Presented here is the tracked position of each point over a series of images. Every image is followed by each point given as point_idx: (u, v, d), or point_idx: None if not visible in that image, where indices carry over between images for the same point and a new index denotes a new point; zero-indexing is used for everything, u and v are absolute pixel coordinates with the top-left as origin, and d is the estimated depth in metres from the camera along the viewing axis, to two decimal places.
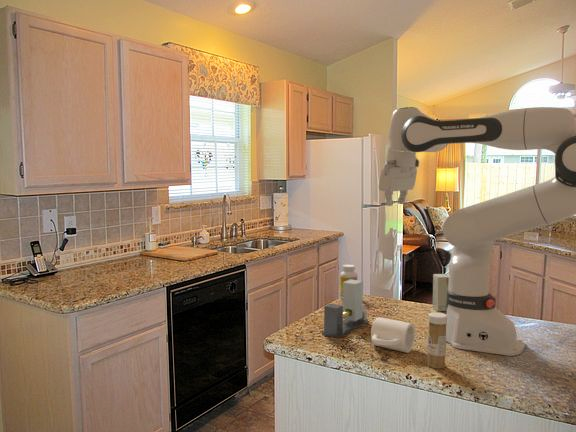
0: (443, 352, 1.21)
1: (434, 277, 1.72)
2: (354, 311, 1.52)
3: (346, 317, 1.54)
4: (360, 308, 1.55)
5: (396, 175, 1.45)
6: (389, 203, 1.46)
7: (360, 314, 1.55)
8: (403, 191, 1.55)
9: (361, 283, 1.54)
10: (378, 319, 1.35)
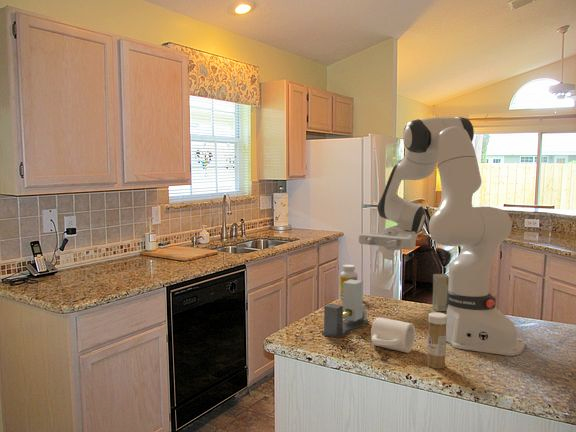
0: (443, 352, 1.21)
1: (434, 277, 1.72)
2: (354, 311, 1.52)
3: (346, 317, 1.54)
4: (360, 308, 1.55)
5: (375, 234, 1.78)
6: None
7: (360, 314, 1.55)
8: None
9: (361, 283, 1.54)
10: (378, 319, 1.35)
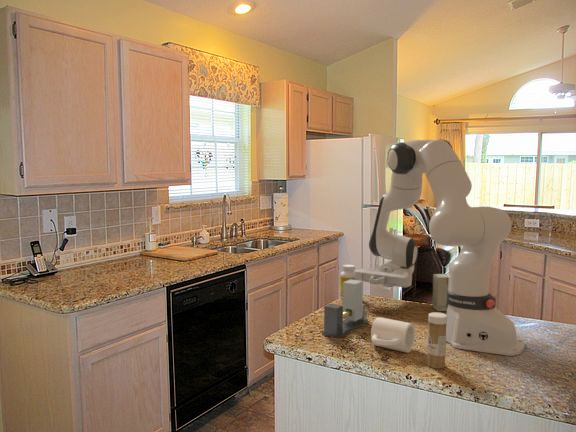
0: (443, 352, 1.21)
1: (434, 277, 1.72)
2: (354, 311, 1.52)
3: (346, 317, 1.54)
4: (360, 308, 1.55)
5: (371, 270, 1.77)
6: None
7: (360, 314, 1.55)
8: None
9: (361, 283, 1.54)
10: (378, 319, 1.36)
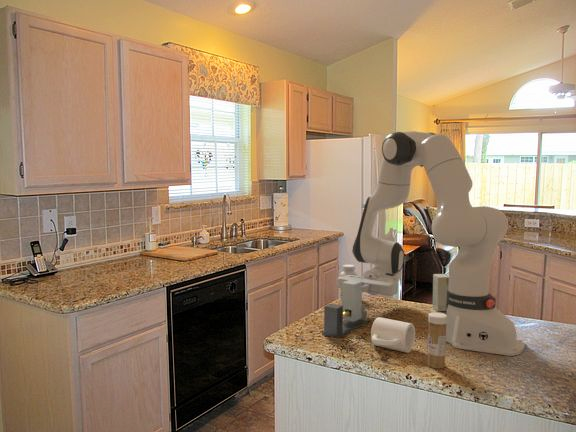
0: (443, 352, 1.21)
1: (434, 277, 1.72)
2: (353, 311, 1.52)
3: (345, 317, 1.53)
4: (359, 308, 1.54)
5: (355, 277, 1.67)
6: None
7: (359, 314, 1.55)
8: None
9: (360, 283, 1.54)
10: (378, 319, 1.36)
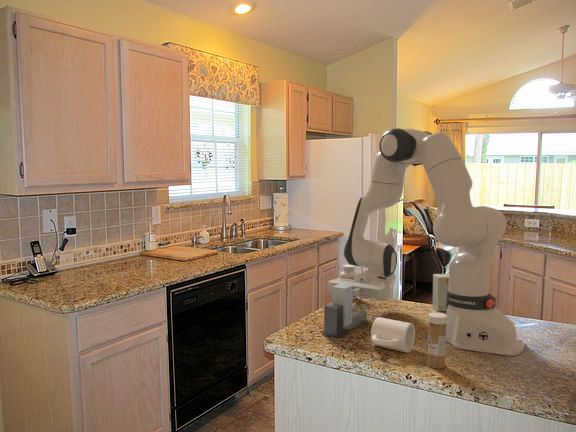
0: (443, 352, 1.21)
1: (434, 277, 1.72)
2: (344, 316, 1.46)
3: None
4: (350, 313, 1.49)
5: (346, 281, 1.62)
6: None
7: (350, 319, 1.50)
8: None
9: (351, 287, 1.49)
10: (378, 319, 1.36)
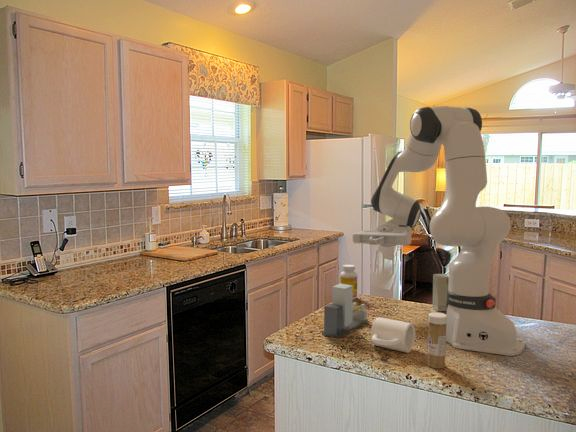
0: (443, 352, 1.21)
1: (434, 277, 1.72)
2: (344, 316, 1.46)
3: None
4: (350, 313, 1.49)
5: (369, 232, 1.73)
6: None
7: (350, 319, 1.50)
8: None
9: (351, 287, 1.49)
10: (378, 319, 1.36)
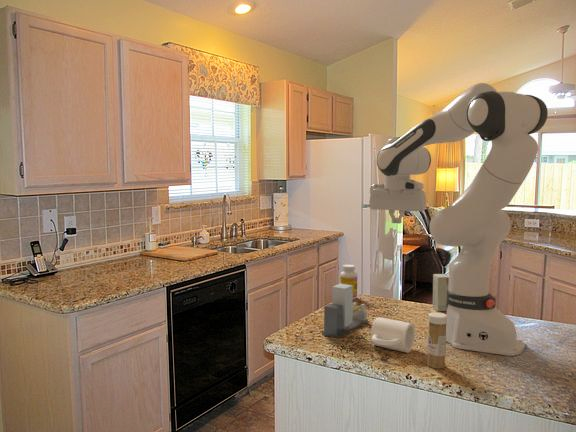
0: (443, 352, 1.21)
1: (434, 277, 1.72)
2: (344, 316, 1.46)
3: None
4: (350, 313, 1.49)
5: (381, 196, 1.71)
6: None
7: (350, 319, 1.50)
8: None
9: (351, 287, 1.49)
10: (378, 319, 1.36)
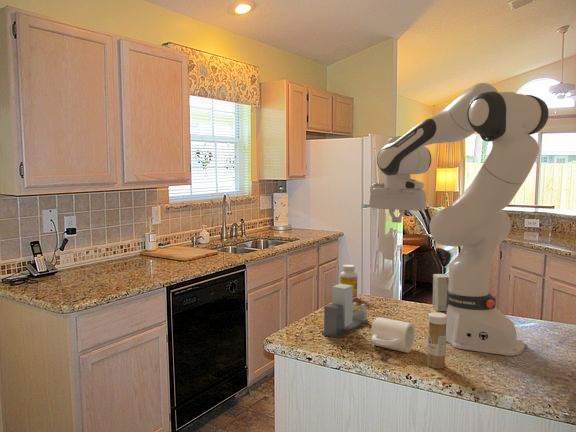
0: (443, 352, 1.21)
1: (434, 277, 1.72)
2: (344, 316, 1.46)
3: None
4: (350, 313, 1.49)
5: (381, 195, 1.71)
6: None
7: (350, 319, 1.50)
8: None
9: (351, 287, 1.49)
10: (378, 319, 1.36)
